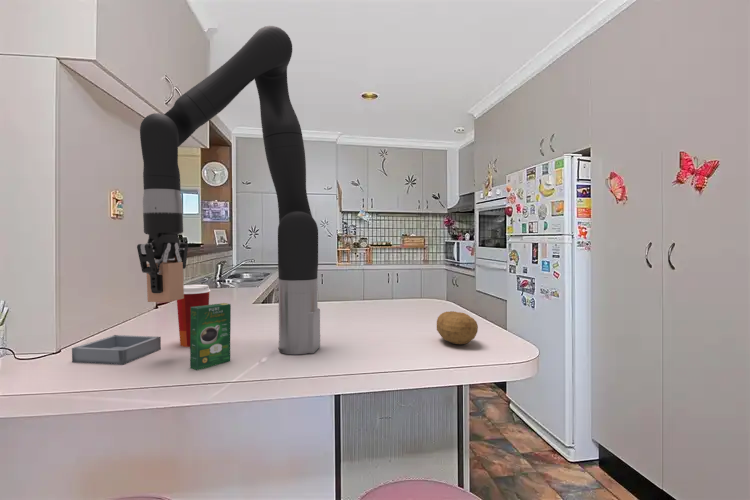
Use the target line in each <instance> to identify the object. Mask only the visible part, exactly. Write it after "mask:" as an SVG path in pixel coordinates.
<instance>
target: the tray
mask: <svg viewBox="0 0 750 500" xmlns="http://www.w3.org/2000/svg"><path fill="white" fill-rule="evenodd" d="M161 341H162V338H161V336H153V335H152V336H148V335H146V336H145V335H125V334H114V335H110V336H107V337H105V338H104V337H103V338H101V339H98V340H95V341H92V342H88V343H85V344H81V345H78V346H75V347H72V348H71V363H74V364H75V363H78V364H98V365H119V366H123V365H126V364H128V363H131V362H133V361H137V360H138V359H140V358H143V357H146V356H148V355H150V354H154V353H155V352H158V351H160V350H161V349H162V344H161Z"/></svg>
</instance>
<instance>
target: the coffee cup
mask: <svg viewBox="0 0 750 500" xmlns="http://www.w3.org/2000/svg"><path fill="white" fill-rule="evenodd" d="M183 286H184V298H183V299H179V300H176V306H177V309H176V310H177V320H178V331H179V333H178V334H179V344H180V346H181V347H183V348H185V347H186V348H190V327H191V326H190V325H191V307H195V306H204V305H210V292H212V290H211V289H210V286H209V285H208V284H185V285H184V284H183Z"/></svg>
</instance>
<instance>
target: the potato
mask: <svg viewBox="0 0 750 500" xmlns="http://www.w3.org/2000/svg"><path fill="white" fill-rule="evenodd" d="M478 329H479V326H478V322H477V321H476V320H475V318H473V317H472V316H470V315H469V314H467V313H465V312H460V311H459V312H458V311H454V310H453V311H452V310H451V311H444V312H442V313H441V314H439V316H438V317H437V319H436V331H437V333H438V334H439V336H440V337H441V338H442V340H445V341H447V342H449V343H451V344H452V345H467V344H468V343H469V342H471V341H472V340H474V339H475V338H476V336H477V334H478Z"/></svg>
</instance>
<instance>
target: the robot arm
mask: <svg viewBox="0 0 750 500" xmlns="http://www.w3.org/2000/svg"><path fill="white" fill-rule="evenodd" d="M292 55H293V43H292V40H291V38H290V36H289V35H288V33H287V32H286V31H285V30H284V29H282V28H280V27H278V26H275V25H267V26H265V25H264V26H263V27H261V28H259V29H258V30H256V32H255V33H254V34H252V36H251V37H250V38H249V40H247V42H246V43H245V44H244V45H242V47H241V48H240V49H239V50H238V51H237V52H236V53H234V55H233V56H231V57H230V58H229V59H228V60H227V61H225V63H223V64H222V65H221V66H220V67H218V68H217V69H216V70H215V71H214V72H212V73H211V74H210V75H208V76H206V77H205V78H204V79H203V80H201V81H200V82H198V83H197V84H196V85H194V86H193V87H191V88H190V89H189V90H187V91H186V92H185V93H183V94H181V96H179V97H178V98H177V99H176V100H175V101H174V104H173V106H172V107H171V108H170V109H168V111H167V112H164V113H158V112H157V113H155V112H154V113H151V114H148V115H147V116H146V117H144V119H142V121H141V122H140V126H139V136H140V147H141V149H140V150H141V153H142V154H141V155H142V161H143V170H142V171H143V173H142V174H143V175H142V179H143V183H142V184H143V194H142V195H143V196H142V215H143V216H142V219H143V221H142V222H143V233H144V234H145V235H148V239H147V242H146V243H138V244H137V245H136V248H137V254H138V258H139V263H140V269H141V272H142V273H146V274H147V273H148V274H149V275H150V281H151V291H152V293H162V292H163V275H162V272H163V264H166V263H167V262H183V270H185V269H186V266H187V260H188V249H189V244H188V242H182V241H181V242H180V238H179V235H181V234H183V233H184V215H183V213H184V212H183V199H182V192H181V174H180V173H181V172H180V167H179V155H178V154H179V147H181V145H183V144H184V143H185V142H186V141H187V140H188V139H189V138H190V137H191V135H193V134H194V133H195V132H196V131H197V130H198V129H199V128H200V127H202V126H203V125H205V124H207V122H209V121H210V120H212V119H213V118H214V117H215V116H217V115H218V114H219V113H221V112H222V111H223V110H225V108H226V107H227V106H229V105H230V104H231V103H232V101H233V100H234V99H235V98H236V97H237V96H238V95H239V94H240V93H241V92H242V91H243V90H244V89H245V88H246V87H247V86H249V84H251V83H252V82H253V81H254V82H255V85H256V90H257V94H258V99H259V110H260V111H259V112H260V121H261V122H260V123H261V131H262V139H263V146H264V152H265V156H266V161H267V165H268V166H267V167H268V170H269V174H270V177H271V180H272V182H273V186H274V189H275V194H276V198H277V207H278V208H277V209H278V226H277V270H278V274H277V275H278V352H280V353H281V354H285V355H305V354H314V353H315V352H316V351H317V350H319V349H320V347H321V309H320V308H319V307H318V306H319V305H318V304H319V303H318V301H319V300H318V299H319V297H318V270H319V269H318V268H319V227H318V224H317V222H316V220H315V219H314V217H313V215H312V212H311V207H310V203H309V199H308V194H307V193H308V192H307V164H306V163H307V162H306V149H305V144H304V137H303V132H302V127H301V124H300V121H299V118H298V117H297V113H296V112H295V109H294V107H293V105H292V102H291V99H290V93H289V85H288V66H289V64H290V61H291V59H292V57H293V56H292ZM147 262H148V263H147ZM147 264H149V267H147ZM156 264H158V268H156Z"/></svg>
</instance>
